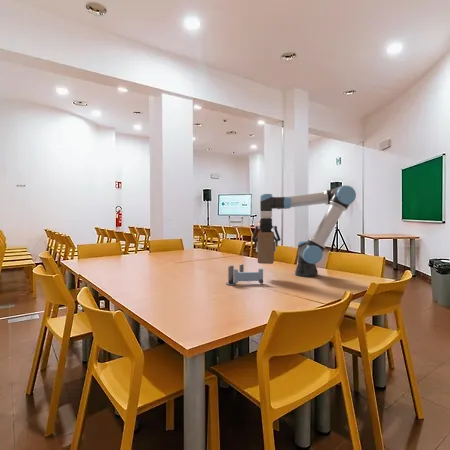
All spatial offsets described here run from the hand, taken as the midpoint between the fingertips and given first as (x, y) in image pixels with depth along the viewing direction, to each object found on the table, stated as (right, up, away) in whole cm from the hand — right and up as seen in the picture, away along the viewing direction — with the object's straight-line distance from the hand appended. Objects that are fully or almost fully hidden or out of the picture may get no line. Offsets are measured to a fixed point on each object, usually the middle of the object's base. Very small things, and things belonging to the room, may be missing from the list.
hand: (266, 251), depth 201 cm
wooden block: (0, -7, 0) cm, 7 cm away
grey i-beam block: (-12, -18, -14) cm, 26 cm away
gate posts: (-20, -18, -7) cm, 27 cm away
